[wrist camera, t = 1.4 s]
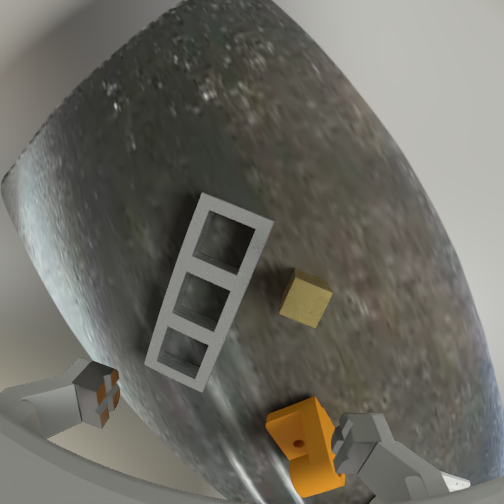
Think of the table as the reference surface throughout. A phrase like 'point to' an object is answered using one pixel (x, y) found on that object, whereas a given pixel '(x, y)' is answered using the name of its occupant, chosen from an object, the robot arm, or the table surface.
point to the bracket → (306, 446)
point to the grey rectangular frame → (213, 272)
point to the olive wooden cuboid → (305, 298)
